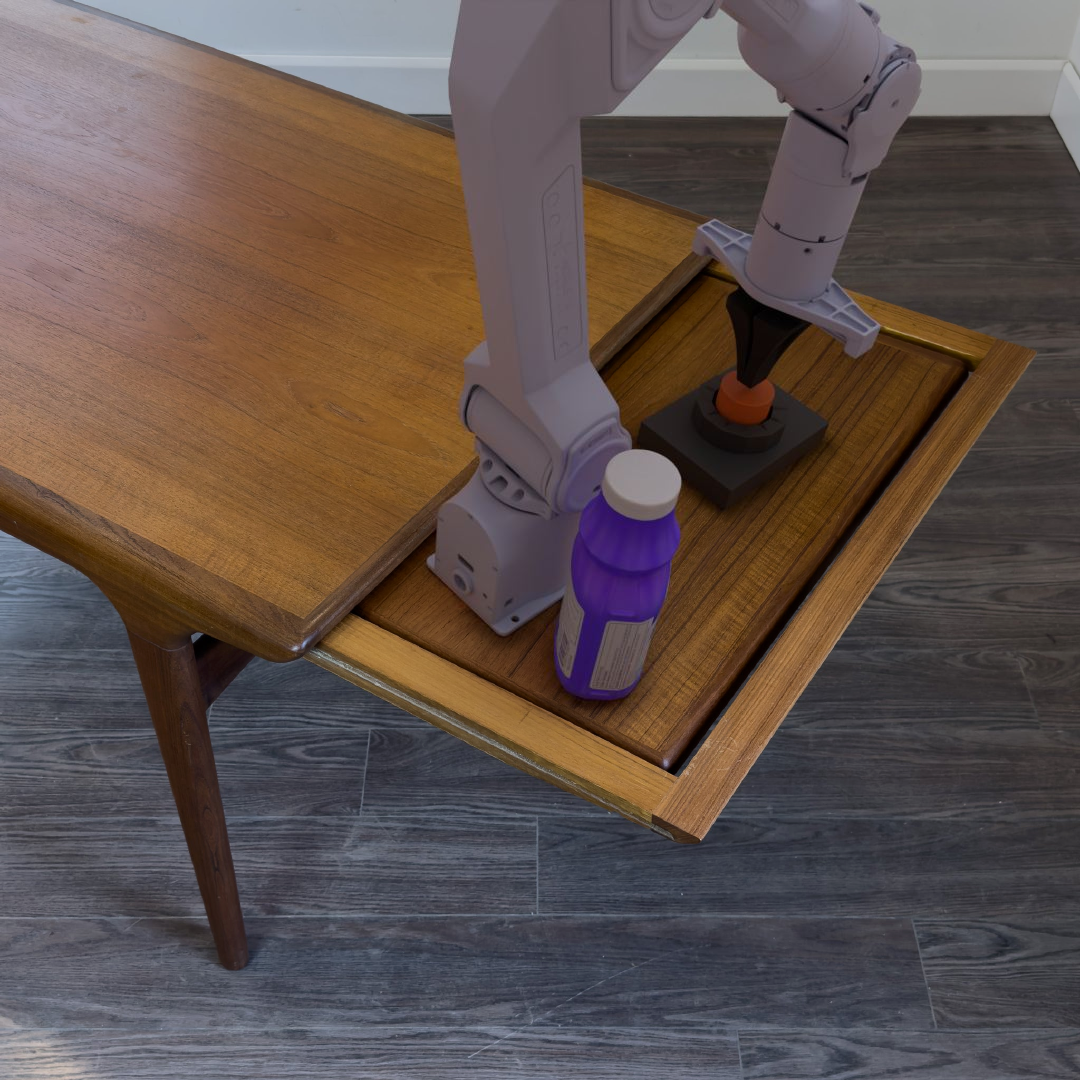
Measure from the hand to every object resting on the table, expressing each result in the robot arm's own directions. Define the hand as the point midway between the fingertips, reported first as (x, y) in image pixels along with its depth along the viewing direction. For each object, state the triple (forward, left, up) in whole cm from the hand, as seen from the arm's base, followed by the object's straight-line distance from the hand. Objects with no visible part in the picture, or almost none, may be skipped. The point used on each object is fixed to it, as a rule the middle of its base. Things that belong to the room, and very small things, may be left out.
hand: (751, 378), depth 81 cm
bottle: (-23, -8, -7) cm, 25 cm away
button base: (0, 0, -6) cm, 6 cm away
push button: (0, 0, -3) cm, 3 cm away
